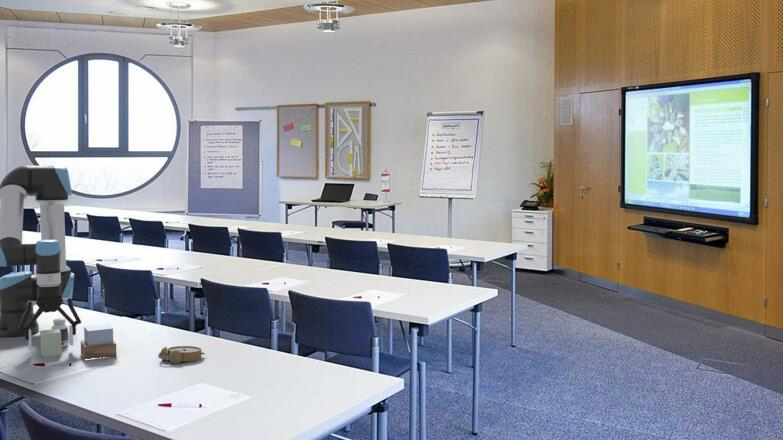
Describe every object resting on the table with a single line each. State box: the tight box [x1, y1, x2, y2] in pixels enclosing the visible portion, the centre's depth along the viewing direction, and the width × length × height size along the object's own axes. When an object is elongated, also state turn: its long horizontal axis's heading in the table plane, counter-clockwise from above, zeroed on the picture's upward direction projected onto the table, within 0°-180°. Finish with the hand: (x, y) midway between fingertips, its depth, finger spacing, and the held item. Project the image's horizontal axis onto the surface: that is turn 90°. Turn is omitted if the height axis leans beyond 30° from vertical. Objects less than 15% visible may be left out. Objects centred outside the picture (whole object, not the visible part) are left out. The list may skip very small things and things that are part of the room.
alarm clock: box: [158, 345, 206, 365], centre depth 253 cm, size 11×5×15 cm
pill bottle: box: [50, 317, 69, 348], centre depth 271 cm, size 5×5×10 cm
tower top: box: [83, 323, 114, 346], centre depth 258 cm, size 8×8×5 cm
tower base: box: [80, 339, 118, 359], centre depth 258 cm, size 10×10×5 cm
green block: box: [39, 329, 63, 358], centre depth 260 cm, size 6×6×8 cm
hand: (51, 346), depth 260 cm, fingers open, 12 cm apart
